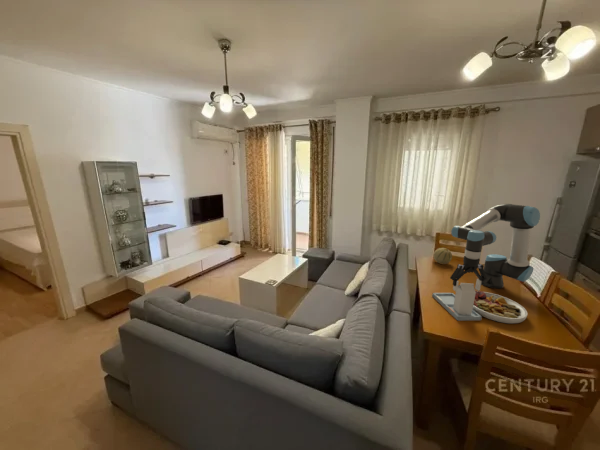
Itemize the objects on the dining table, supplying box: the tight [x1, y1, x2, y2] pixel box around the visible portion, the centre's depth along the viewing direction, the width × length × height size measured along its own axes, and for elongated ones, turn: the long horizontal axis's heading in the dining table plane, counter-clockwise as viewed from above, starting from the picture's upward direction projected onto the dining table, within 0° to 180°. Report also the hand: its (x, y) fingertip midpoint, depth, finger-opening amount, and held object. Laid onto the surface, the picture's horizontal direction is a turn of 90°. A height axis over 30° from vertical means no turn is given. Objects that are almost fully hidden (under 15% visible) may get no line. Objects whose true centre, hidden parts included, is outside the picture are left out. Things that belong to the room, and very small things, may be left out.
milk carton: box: [453, 282, 476, 315], centre depth 146 cm, size 7×7×19 cm
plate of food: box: [473, 290, 528, 324], centre depth 150 cm, size 30×30×8 cm
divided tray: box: [431, 292, 483, 322], centre depth 154 cm, size 14×27×3 cm, turn 1°
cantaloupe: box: [433, 247, 453, 265], centre depth 221 cm, size 15×15×15 cm
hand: (466, 290), depth 145 cm, fingers open, 13 cm apart
